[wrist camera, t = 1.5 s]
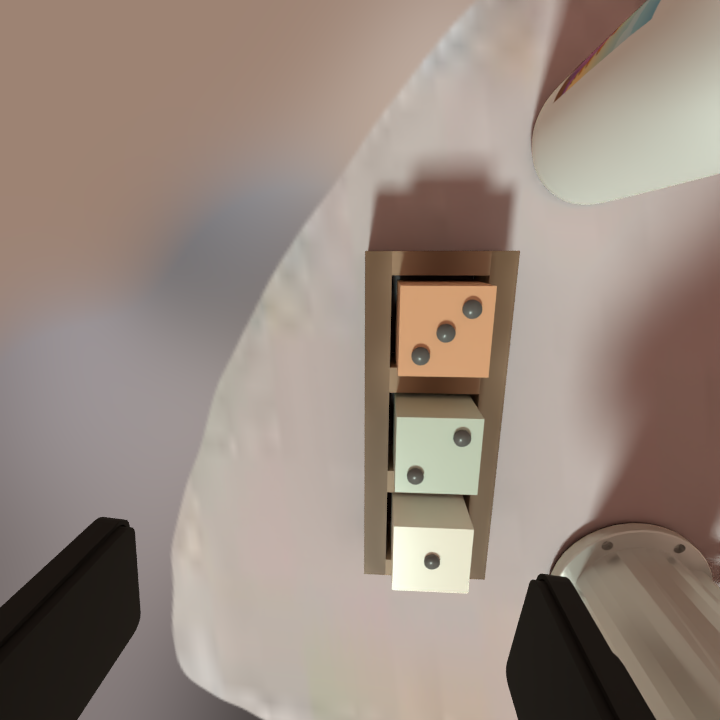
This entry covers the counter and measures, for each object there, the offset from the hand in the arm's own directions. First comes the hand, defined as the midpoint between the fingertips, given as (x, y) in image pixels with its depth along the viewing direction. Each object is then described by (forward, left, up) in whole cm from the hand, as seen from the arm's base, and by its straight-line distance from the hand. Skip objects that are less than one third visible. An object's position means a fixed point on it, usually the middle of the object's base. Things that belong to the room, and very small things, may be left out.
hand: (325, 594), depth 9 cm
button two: (-5, +4, -18) cm, 19 cm away
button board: (-5, +4, -20) cm, 21 cm away
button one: (-5, +11, -18) cm, 22 cm away
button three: (-5, -4, -18) cm, 19 cm away
